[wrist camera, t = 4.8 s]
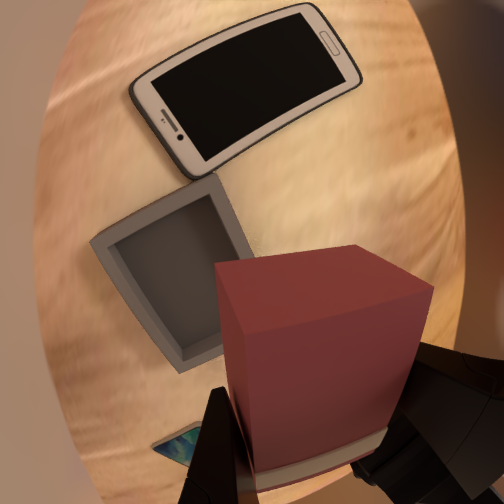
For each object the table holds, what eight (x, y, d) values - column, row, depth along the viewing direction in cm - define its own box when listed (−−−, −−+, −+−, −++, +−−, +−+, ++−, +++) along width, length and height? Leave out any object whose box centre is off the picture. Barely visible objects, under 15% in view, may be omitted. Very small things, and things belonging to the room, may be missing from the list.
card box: (214, 263, 8) (245, 337, 4) (355, 244, 9) (436, 288, 5) (233, 423, 10) (257, 495, 7) (333, 397, 11) (374, 454, 8)
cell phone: (360, 85, 18) (368, 82, 17) (191, 185, 17) (191, 187, 16) (307, 4, 15) (312, -1, 14) (124, 90, 14) (121, 86, 13)
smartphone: (235, 485, 28) (148, 448, 22) (233, 480, 29) (148, 442, 23) (280, 465, 28) (201, 423, 22) (278, 460, 29) (200, 416, 23)
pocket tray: (274, 308, 21) (284, 323, 19) (177, 355, 20) (179, 373, 18) (212, 172, 17) (217, 173, 15) (98, 233, 16) (89, 241, 14)
